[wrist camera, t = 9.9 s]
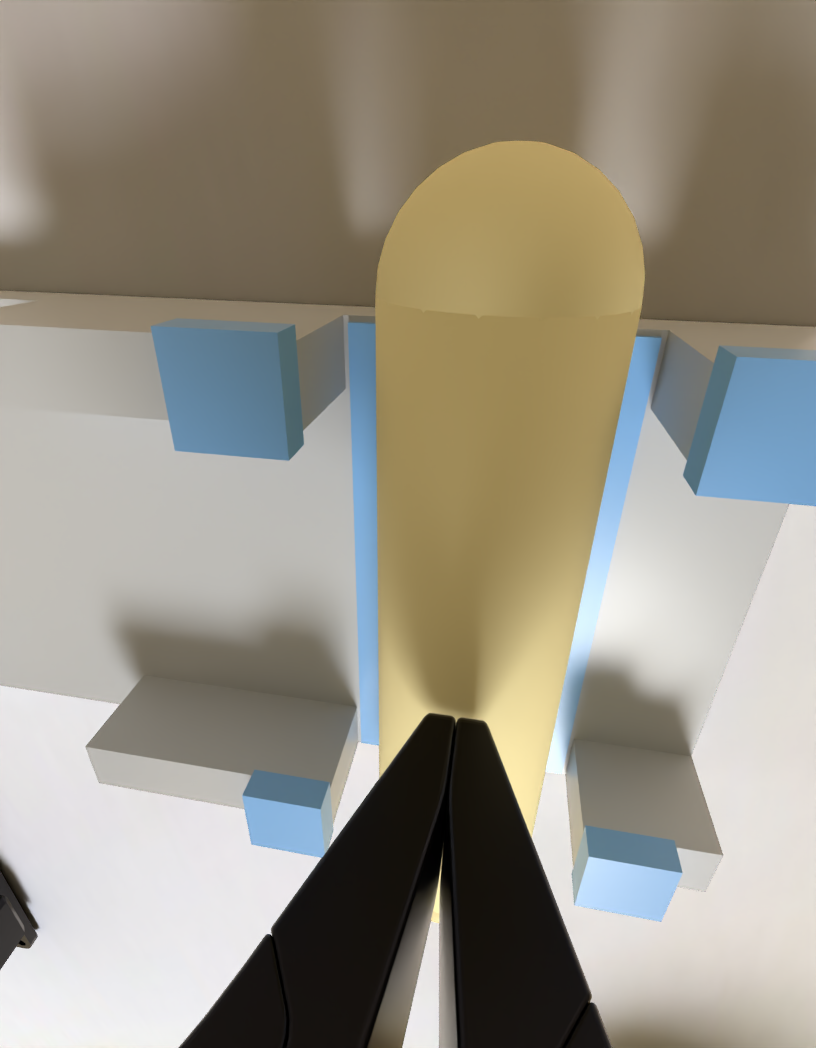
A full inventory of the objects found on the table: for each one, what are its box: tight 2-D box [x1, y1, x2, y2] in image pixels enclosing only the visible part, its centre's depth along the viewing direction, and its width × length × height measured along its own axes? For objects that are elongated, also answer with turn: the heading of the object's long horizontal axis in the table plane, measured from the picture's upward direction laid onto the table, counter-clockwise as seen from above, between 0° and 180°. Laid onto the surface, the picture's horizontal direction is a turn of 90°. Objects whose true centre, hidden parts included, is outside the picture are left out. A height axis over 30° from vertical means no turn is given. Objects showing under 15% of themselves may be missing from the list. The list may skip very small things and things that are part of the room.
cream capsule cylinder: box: [375, 141, 645, 923], centre depth 10 cm, size 14×3×3 cm, turn 179°
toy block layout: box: [0, 290, 816, 922], centre depth 11 cm, size 20×10×4 cm, turn 89°
